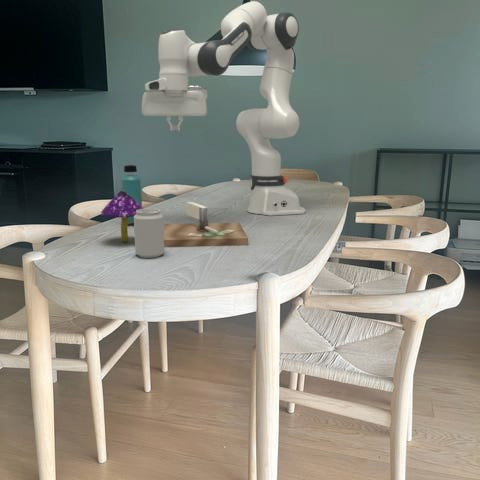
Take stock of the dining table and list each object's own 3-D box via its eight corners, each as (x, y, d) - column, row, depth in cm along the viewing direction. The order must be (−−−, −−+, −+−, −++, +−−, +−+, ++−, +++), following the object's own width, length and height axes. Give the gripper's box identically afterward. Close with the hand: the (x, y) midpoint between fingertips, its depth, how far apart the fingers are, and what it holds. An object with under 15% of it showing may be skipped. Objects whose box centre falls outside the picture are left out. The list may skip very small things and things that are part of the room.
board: (239, 228, 158) (239, 221, 158) (248, 244, 137) (248, 237, 136) (165, 230, 155) (164, 223, 155) (162, 247, 134) (162, 239, 134)
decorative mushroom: (125, 249, 131) (122, 195, 128) (93, 243, 138) (89, 191, 134) (156, 240, 142) (154, 189, 138) (125, 235, 148) (122, 186, 144)
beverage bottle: (146, 223, 166) (144, 164, 161) (136, 227, 160) (133, 166, 155) (130, 222, 168) (127, 164, 163) (119, 225, 162) (116, 165, 157)
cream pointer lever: (221, 234, 140) (220, 211, 138) (212, 235, 138) (212, 212, 137) (193, 222, 156) (192, 201, 155) (185, 222, 155) (185, 202, 154)
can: (137, 251, 129) (135, 207, 127) (165, 251, 130) (163, 207, 127) (133, 259, 122) (131, 212, 119) (163, 258, 123) (161, 212, 120)
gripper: (206, 86, 153) (207, 131, 157) (141, 85, 151) (143, 130, 154) (208, 85, 147) (208, 131, 150) (139, 84, 145) (142, 131, 148)
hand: (175, 131), depth 152 cm, fingers closed
